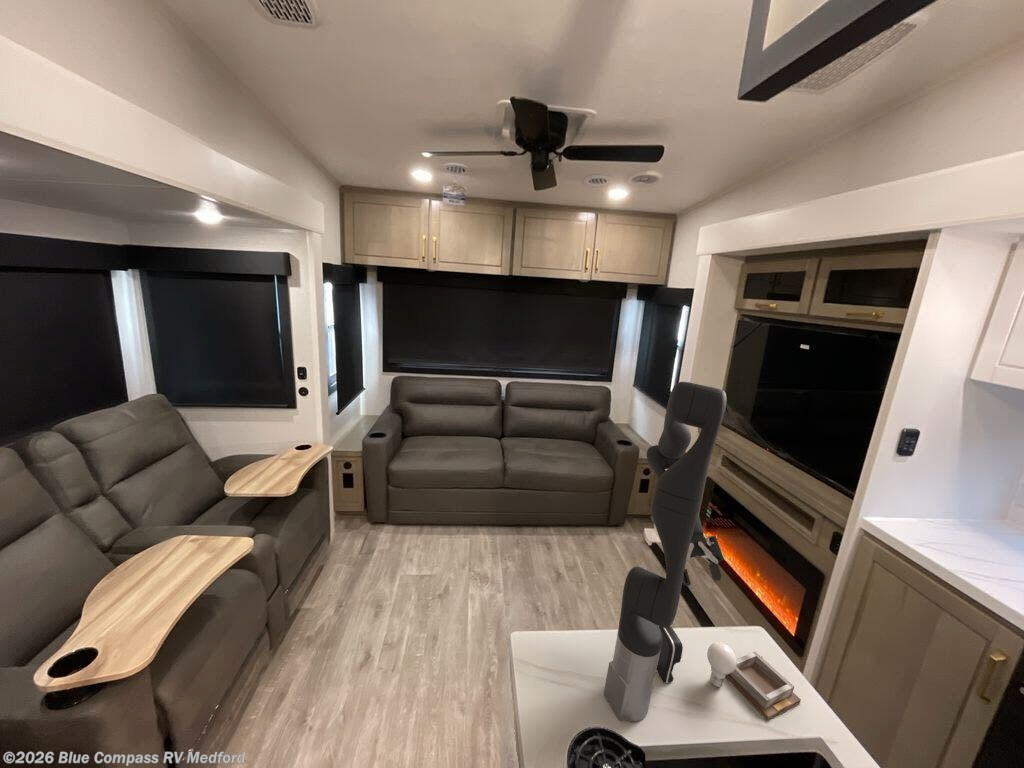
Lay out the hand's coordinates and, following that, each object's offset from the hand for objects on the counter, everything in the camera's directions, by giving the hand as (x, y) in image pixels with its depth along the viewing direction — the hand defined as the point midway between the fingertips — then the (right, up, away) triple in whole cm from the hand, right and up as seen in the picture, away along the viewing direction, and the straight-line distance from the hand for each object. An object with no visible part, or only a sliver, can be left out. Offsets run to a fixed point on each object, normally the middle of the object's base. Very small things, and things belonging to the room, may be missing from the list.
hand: (702, 582), depth 99 cm
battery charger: (-10, -22, 0) cm, 24 cm away
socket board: (+13, -24, -2) cm, 28 cm away
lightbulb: (+2, -24, -3) cm, 24 cm away
